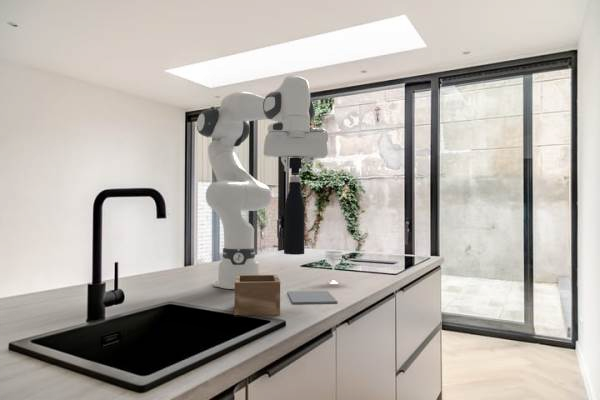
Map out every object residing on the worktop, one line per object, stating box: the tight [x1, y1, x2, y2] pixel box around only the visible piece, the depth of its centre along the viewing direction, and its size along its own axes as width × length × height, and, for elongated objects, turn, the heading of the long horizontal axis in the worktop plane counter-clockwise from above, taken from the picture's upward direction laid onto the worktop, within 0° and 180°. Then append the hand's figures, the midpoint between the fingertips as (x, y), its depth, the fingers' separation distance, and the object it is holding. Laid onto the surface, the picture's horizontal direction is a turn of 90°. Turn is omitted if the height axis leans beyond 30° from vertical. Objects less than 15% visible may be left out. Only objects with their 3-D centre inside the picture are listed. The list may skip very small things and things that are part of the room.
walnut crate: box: [233, 274, 281, 317], centre depth 119 cm, size 12×12×9 cm
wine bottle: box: [283, 157, 306, 256], centre depth 129 cm, size 6×6×30 cm
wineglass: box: [324, 250, 343, 284], centre depth 163 cm, size 7×7×12 cm
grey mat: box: [287, 290, 338, 305], centre depth 135 cm, size 16×14×1 cm
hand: (295, 171), depth 130 cm, fingers closed on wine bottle, 4 cm apart
